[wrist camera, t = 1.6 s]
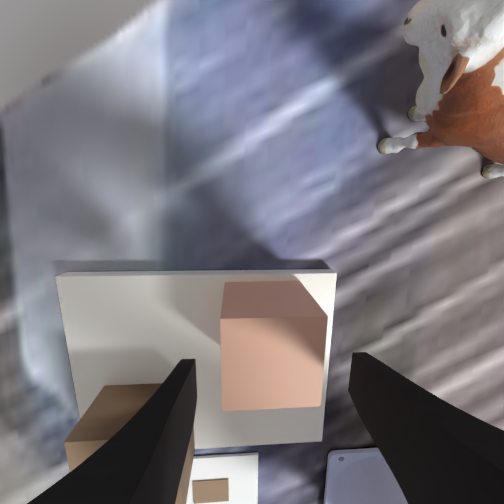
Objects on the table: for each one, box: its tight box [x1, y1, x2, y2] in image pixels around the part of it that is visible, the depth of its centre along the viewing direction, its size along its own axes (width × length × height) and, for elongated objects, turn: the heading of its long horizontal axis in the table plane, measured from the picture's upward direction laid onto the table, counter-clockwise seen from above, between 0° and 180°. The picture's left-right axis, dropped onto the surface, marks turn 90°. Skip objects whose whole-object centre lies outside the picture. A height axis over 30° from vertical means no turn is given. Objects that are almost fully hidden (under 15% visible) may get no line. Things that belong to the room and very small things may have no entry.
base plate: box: [55, 269, 337, 449], centre depth 17 cm, size 18×14×1 cm
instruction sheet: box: [186, 452, 258, 504], centre depth 21 cm, size 8×10×1 cm
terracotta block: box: [220, 281, 328, 411], centre depth 14 cm, size 5×5×5 cm
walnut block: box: [64, 383, 195, 504], centre depth 16 cm, size 6×6×4 cm
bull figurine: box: [378, 0, 504, 178], centre depth 12 cm, size 4×13×8 cm, turn 74°
